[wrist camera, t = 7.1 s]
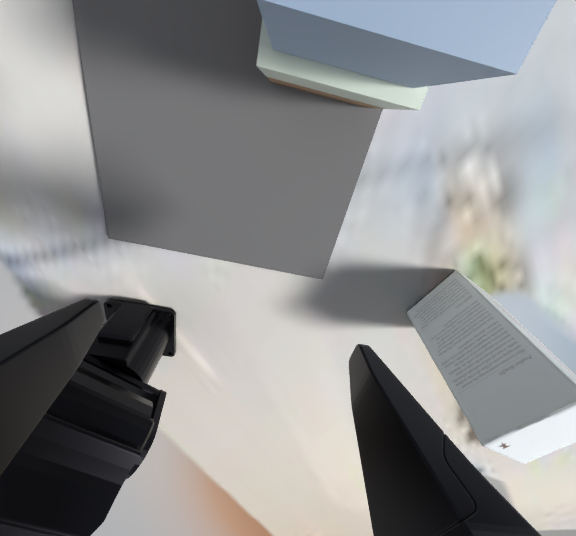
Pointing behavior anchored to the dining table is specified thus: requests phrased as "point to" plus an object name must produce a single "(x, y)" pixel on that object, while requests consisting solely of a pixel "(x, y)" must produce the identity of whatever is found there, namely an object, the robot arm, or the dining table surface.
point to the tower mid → (335, 79)
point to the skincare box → (497, 371)
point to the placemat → (214, 136)
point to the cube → (409, 36)
